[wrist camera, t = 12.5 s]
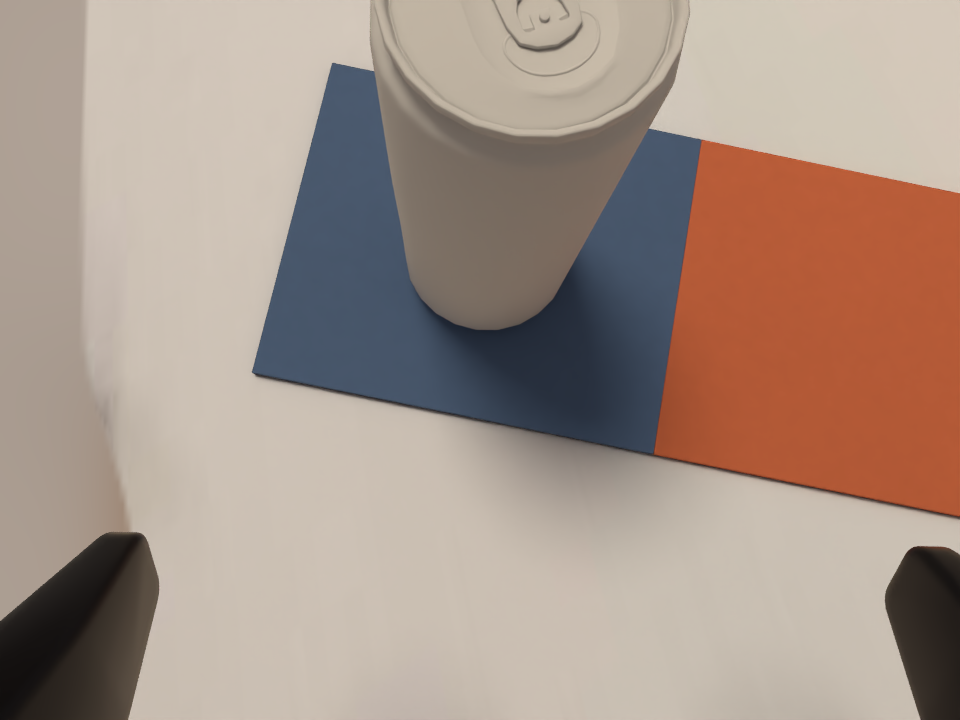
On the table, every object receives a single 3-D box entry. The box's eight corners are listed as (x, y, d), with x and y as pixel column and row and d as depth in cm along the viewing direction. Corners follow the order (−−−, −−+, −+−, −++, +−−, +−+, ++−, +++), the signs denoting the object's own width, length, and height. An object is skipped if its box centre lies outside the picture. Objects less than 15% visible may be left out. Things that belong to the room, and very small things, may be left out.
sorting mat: (1061, 217, 24) (1066, 215, 24) (1045, 534, 22) (1049, 534, 22) (332, 66, 24) (332, 62, 23) (253, 373, 22) (251, 372, 21)
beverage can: (441, 359, 22) (441, 196, 10) (380, 213, 23) (312, -99, 11) (590, 299, 22) (757, 78, 11) (527, 159, 23) (615, -195, 11)
